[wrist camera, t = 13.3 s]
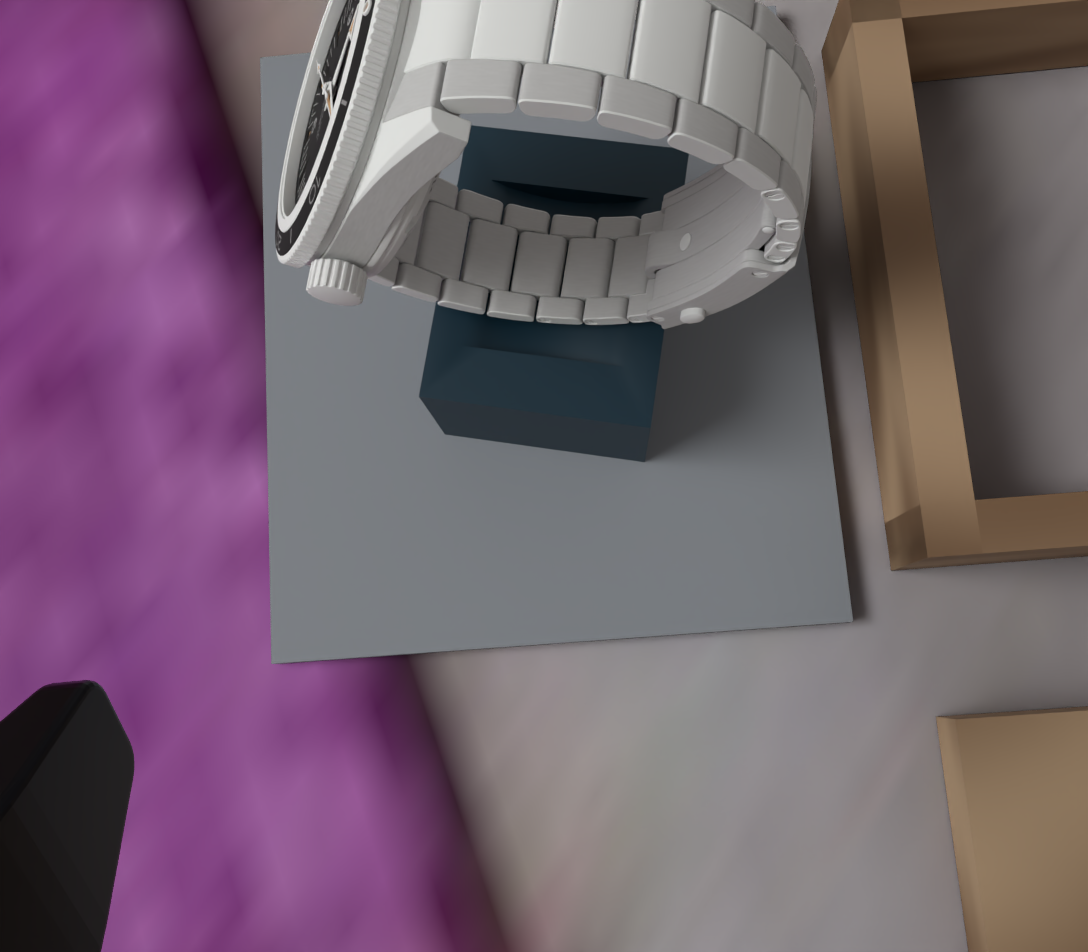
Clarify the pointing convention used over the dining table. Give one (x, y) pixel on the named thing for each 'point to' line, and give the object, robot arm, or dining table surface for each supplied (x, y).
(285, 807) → the dining table surface
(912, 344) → the wooden rectangular frame
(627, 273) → the watch
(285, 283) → the felt mat
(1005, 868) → the lid
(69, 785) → the robot arm
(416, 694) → the dining table surface
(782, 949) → the dining table surface
